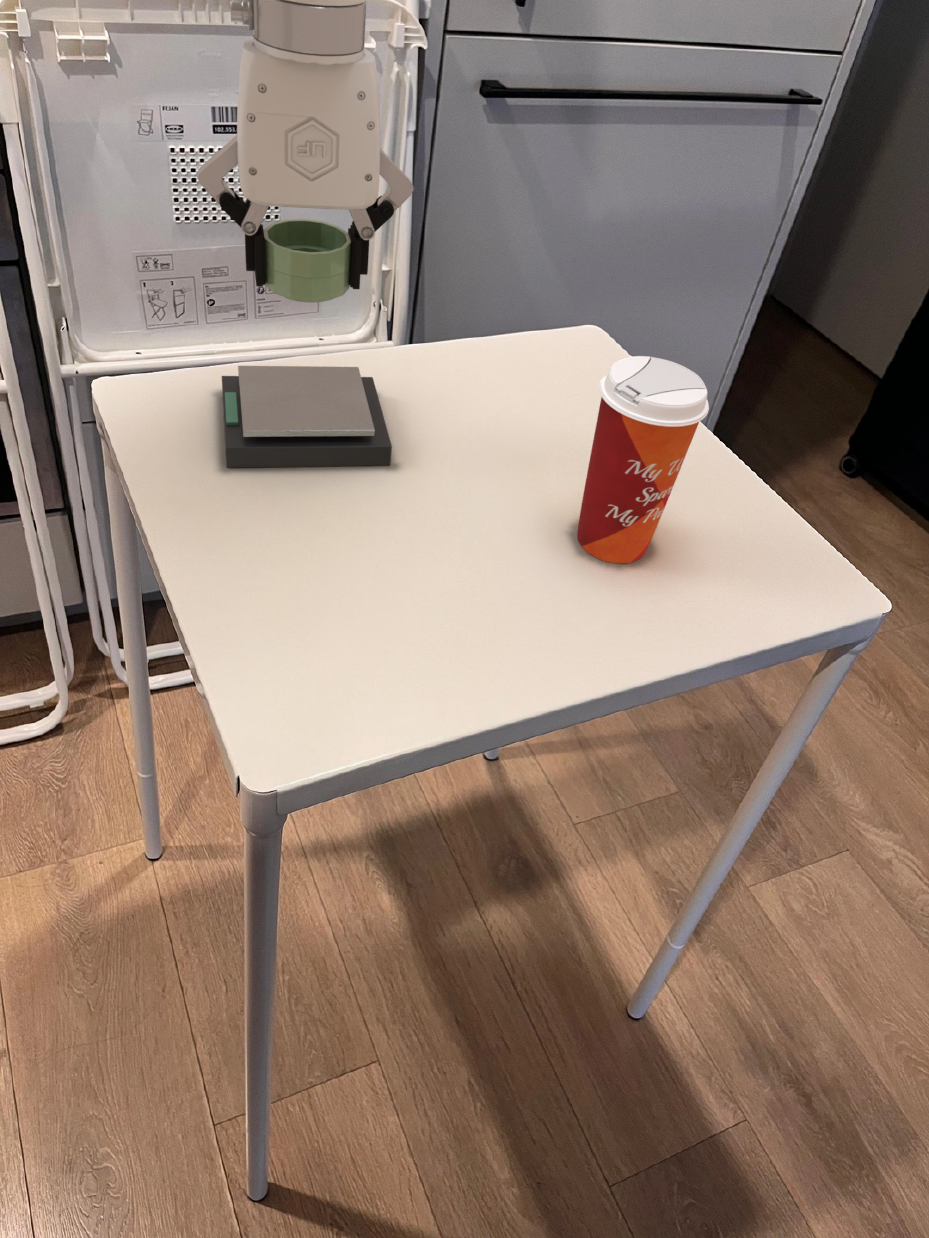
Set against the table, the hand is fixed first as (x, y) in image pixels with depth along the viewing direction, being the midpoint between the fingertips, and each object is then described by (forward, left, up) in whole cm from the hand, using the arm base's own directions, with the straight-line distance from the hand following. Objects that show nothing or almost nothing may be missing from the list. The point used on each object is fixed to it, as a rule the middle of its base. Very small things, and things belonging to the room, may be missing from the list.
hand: (306, 279), depth 76 cm
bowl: (0, 0, -1) cm, 1 cm away
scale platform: (0, 0, -12) cm, 12 cm away
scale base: (0, 0, -14) cm, 14 cm away
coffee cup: (+24, -17, -14) cm, 33 cm away
